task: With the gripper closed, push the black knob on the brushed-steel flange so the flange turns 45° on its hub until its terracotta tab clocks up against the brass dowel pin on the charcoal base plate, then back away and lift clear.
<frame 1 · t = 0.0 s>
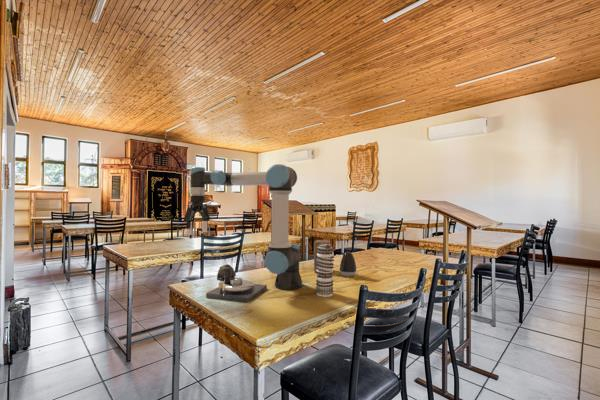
hand: (197, 233, 164), 28 cm above the table, fingers open, 13 cm apart
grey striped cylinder: (322, 271, 197), on the table
fossil: (226, 279, 176), on the table
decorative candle: (324, 294, 148), on the table
clock base: (237, 292, 149), on the table
dark grey tapered dome: (347, 276, 185), on the table
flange: (235, 277, 149), point 7 cm above the table, hinge at 0.0°
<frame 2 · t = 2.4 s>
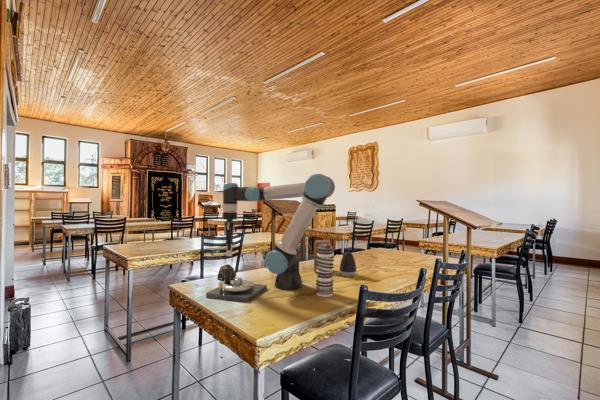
hand: (229, 255, 158), 17 cm above the table, fingers closed
nothing on the table moved.
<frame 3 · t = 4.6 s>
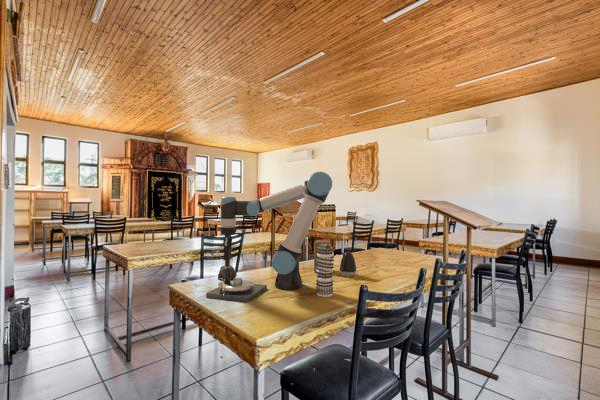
hand: (227, 272, 153), 9 cm above the table, fingers closed
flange: (235, 277, 149), point 7 cm above the table, hinge at 2.5°, touching gripper
everything else where it was.
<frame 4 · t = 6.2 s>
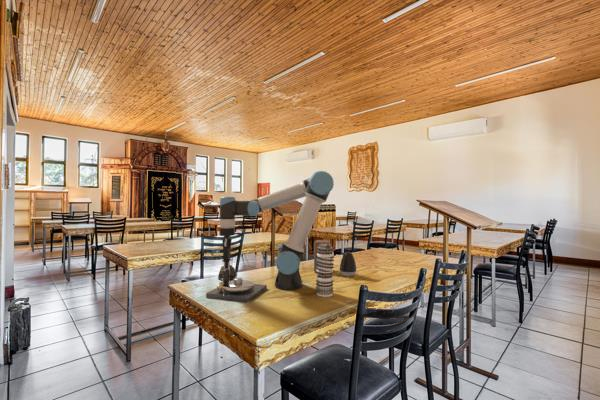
hand: (226, 274, 149), 9 cm above the table, fingers closed
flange: (235, 278, 149), point 7 cm above the table, hinge at 45.2°
everything else where it was.
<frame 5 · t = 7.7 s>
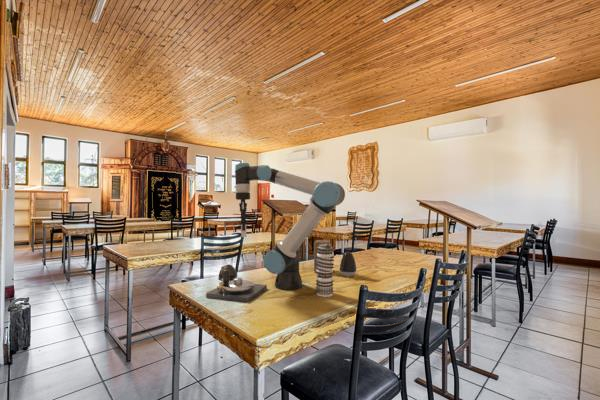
hand: (243, 236, 157), 27 cm above the table, fingers closed
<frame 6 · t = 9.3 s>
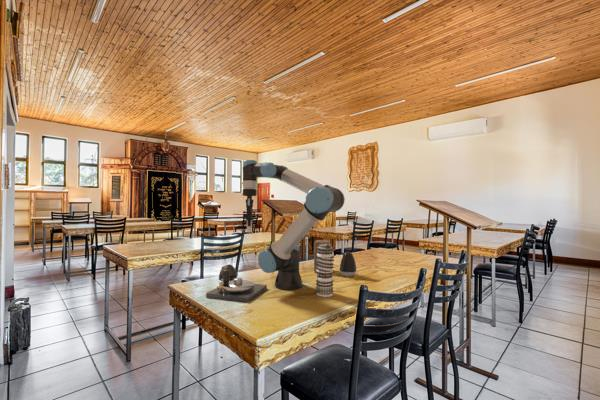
hand: (249, 232, 161), 29 cm above the table, fingers closed
at the end: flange at +45° (first picture: +0°) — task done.
